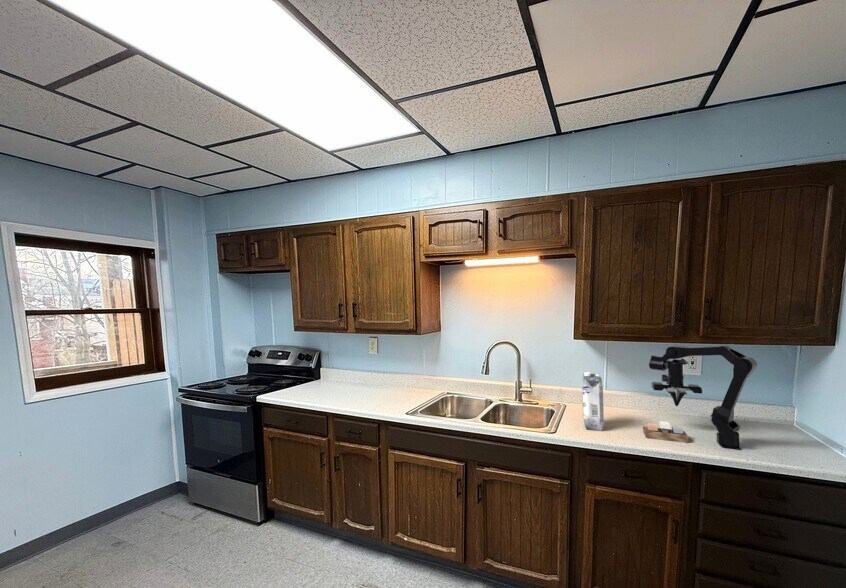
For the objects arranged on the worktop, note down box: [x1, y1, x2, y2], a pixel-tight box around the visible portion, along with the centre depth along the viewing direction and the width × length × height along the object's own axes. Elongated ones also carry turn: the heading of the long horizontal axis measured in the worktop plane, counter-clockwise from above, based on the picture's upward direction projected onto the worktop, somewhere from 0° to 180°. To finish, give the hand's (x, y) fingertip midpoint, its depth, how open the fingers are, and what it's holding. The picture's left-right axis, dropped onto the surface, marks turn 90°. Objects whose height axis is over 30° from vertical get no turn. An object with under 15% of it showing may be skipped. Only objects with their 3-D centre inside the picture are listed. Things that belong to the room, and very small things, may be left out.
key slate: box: [671, 425, 684, 434], centre depth 159 cm, size 3×3×5 cm
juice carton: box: [581, 371, 605, 432], centre depth 175 cm, size 9×10×27 cm
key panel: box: [642, 426, 690, 444], centre depth 161 cm, size 16×7×3 cm, turn 67°
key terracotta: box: [646, 422, 659, 432], centre depth 162 cm, size 3×3×5 cm
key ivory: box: [658, 420, 671, 433], centre depth 161 cm, size 3×3×5 cm
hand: (676, 405), depth 166 cm, fingers closed
